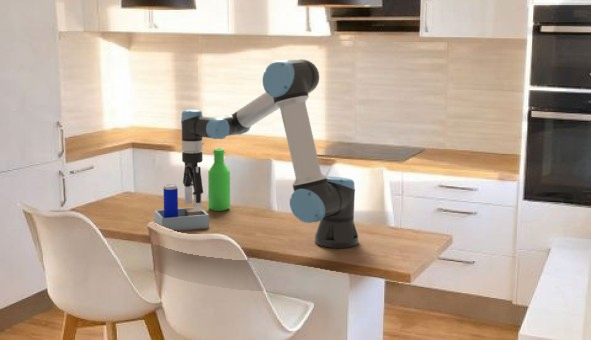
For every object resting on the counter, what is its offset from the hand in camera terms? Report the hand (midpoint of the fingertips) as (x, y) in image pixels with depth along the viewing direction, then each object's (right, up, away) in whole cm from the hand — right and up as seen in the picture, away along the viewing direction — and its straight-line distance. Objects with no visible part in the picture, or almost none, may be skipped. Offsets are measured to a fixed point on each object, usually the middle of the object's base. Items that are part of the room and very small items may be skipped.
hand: (193, 207), depth 282 cm
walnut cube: (0, -6, +1) cm, 6 cm away
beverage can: (-8, -7, -2) cm, 10 cm away
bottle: (+7, -2, +27) cm, 28 cm away
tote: (-4, -7, 0) cm, 8 cm away
